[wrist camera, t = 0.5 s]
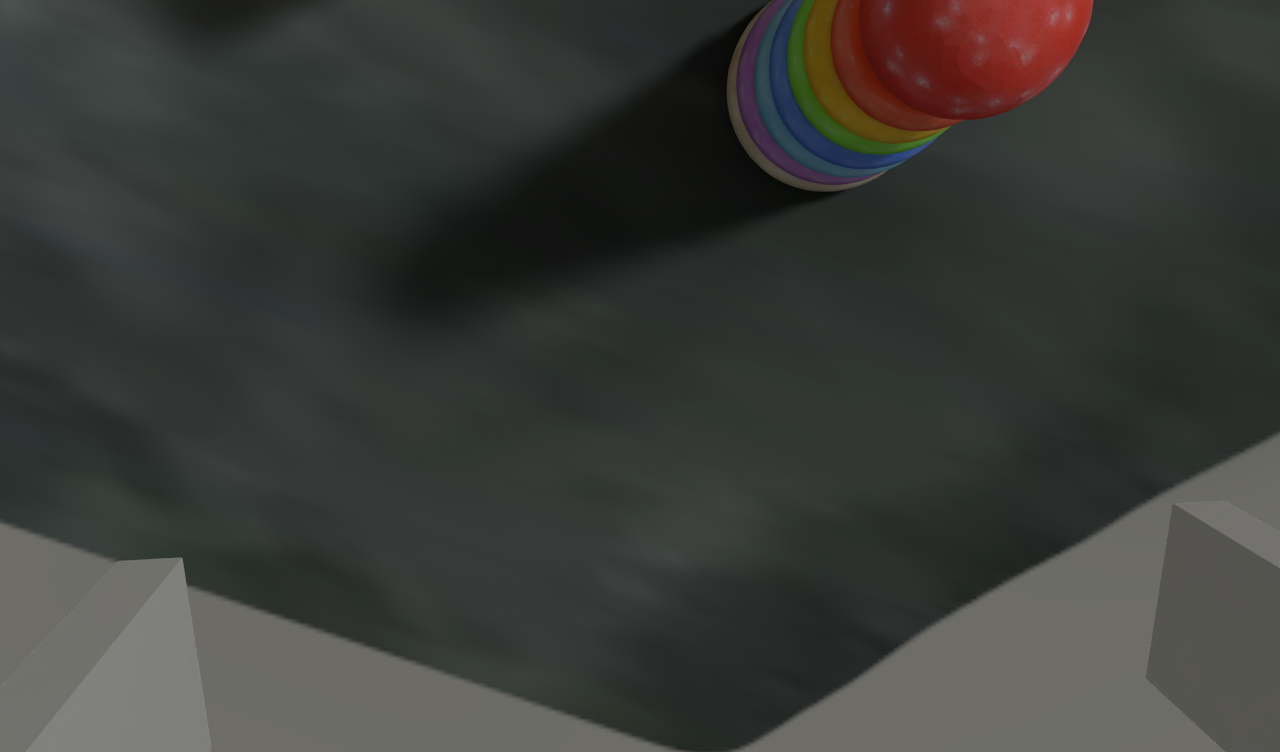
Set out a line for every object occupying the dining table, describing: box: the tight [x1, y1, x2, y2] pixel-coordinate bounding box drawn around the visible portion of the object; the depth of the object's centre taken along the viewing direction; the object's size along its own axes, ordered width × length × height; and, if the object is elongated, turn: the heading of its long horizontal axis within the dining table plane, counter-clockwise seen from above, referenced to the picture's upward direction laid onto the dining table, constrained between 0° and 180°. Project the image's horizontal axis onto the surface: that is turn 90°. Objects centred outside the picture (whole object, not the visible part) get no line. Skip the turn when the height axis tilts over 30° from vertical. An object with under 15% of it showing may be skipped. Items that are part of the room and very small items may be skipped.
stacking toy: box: [727, 0, 1093, 192], centre depth 28 cm, size 8×8×19 cm
